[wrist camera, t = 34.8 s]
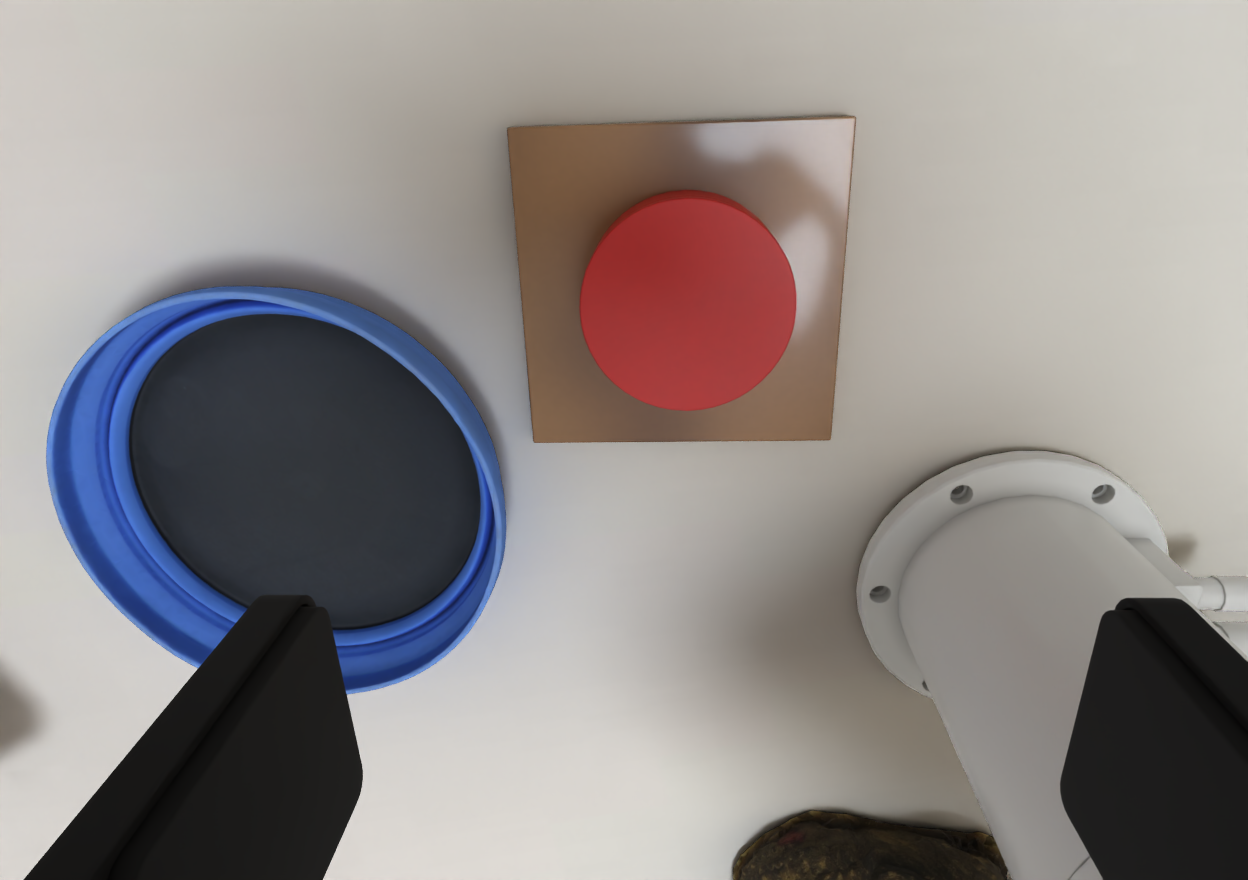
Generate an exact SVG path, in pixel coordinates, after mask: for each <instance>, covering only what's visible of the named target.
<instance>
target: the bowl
mask: <svg viewBox="0 0 1248 880" xmlns="http://www.w3.org/2000/svg"><path fill="white" fill-rule="evenodd" d="M46 464H47V475H48V482H49V487H50V491H51V495H52V499H53V503H54V506H55V509H56V512H57V515H58V518H59V521H60V524H61V526H62V528H63V531H64V533H65V535H66V537H67V539H68V541H69V543H70V545H71V547H72V549H73V551H74V552H75V554H76V556H77V558H78V559H79V561H80V563H81V564H82V566H83V567H84V569H85V570H86V572H87V573H88V574H89V576H90V577H91V579H92V580H93V581H94V582H95V584H96V585H97V586H98V587H99V589H100V590H101V591H102V592H103V593H104V595H105V596H106V597H107V598H108V599H109V600H110V601H111V602H112V603H113V604H114V606H115V607H116V608H117V609H118V610H119V611H120V612H121V613H122V614H123V615H124V616H126V617H127V618H128V619H129V620H130V621H131V622H132V623H133V624H134V625H136V626H137V627H138V628H139V629H140V630H141V631H142V632H144V633H145V634H146V635H147V636H149V637H150V638H151V639H152V640H154V641H155V642H156V643H158V644H159V645H161V646H162V647H163V648H165V649H166V650H168V651H169V652H170V653H172V654H173V655H175V656H177V657H178V658H180V659H182V660H184V661H185V662H187V663H189V664H191V665H193V666H195V667H197V668H199V667H200V666H201V665H202V663H203V662H204V661H205V660H206V659H207V657H208V656H209V655H210V654H211V652H212V651H213V650H214V649H215V648H216V646H217V645H218V644H219V643H220V642H221V640H222V639H223V638H224V637H225V636H226V634H227V633H228V632H229V631H230V629H231V628H232V627H233V626H234V625H235V623H236V622H237V621H238V620H239V619H240V617H241V616H242V615H243V614H244V613H245V611H246V610H247V609H248V608H249V606H250V605H251V604H252V603H253V602H254V601H255V600H256V599H257V598H258V597H259V596H262V595H308V596H310V597H312V599H313V600H314V601H315V604H316V607H324V608H326V610H327V611H328V614H329V617H330V621H331V625H332V630H333V635H334V639H335V644H336V648H337V653H338V658H339V662H340V667H341V671H342V676H343V681H344V685H345V690H346V694H353V693H359V692H366V691H371V690H375V689H379V688H383V687H386V686H389V685H392V684H396V683H399V682H401V681H404V680H406V679H409V678H411V677H413V676H415V675H417V674H419V673H421V672H423V671H424V670H426V669H428V668H429V667H431V666H432V665H434V664H435V663H437V662H438V661H439V660H441V659H442V658H443V657H445V656H446V655H447V654H448V653H449V652H450V651H451V650H453V649H454V648H455V647H456V646H457V645H458V644H459V642H460V641H461V640H462V639H463V638H464V637H465V636H466V635H467V634H468V632H469V631H470V630H471V628H472V627H473V625H474V624H475V622H476V621H477V619H478V618H479V616H480V614H481V613H482V611H483V609H484V607H485V605H486V603H487V601H488V599H489V597H490V595H491V592H492V590H493V588H494V586H495V583H496V581H497V578H498V575H499V572H500V569H501V565H502V561H503V556H504V549H505V540H506V512H505V501H504V493H503V487H502V481H501V476H500V470H499V465H498V461H497V457H496V453H495V450H494V446H493V444H492V441H491V438H490V436H489V434H488V431H487V429H486V427H485V425H484V423H483V421H482V419H481V417H480V415H479V413H478V411H477V410H476V408H475V406H474V404H473V403H472V401H471V400H470V398H469V397H468V395H467V394H466V393H465V391H464V390H463V388H462V387H461V386H460V384H459V383H458V381H457V380H456V379H455V378H454V377H453V375H452V374H451V373H450V372H449V371H448V370H447V369H446V367H445V366H444V365H443V364H442V363H441V362H440V361H439V360H438V359H437V358H436V357H434V356H433V355H432V354H431V353H430V352H429V351H428V350H427V349H426V348H425V347H424V346H422V345H421V344H420V343H419V342H417V341H416V340H415V339H414V338H412V337H411V336H410V335H408V334H407V333H406V332H404V331H403V330H401V329H399V328H398V327H396V326H395V325H393V324H392V323H390V322H388V321H387V320H385V319H383V318H381V317H379V316H378V315H376V314H374V313H372V312H370V311H367V310H365V309H363V308H361V307H358V306H356V305H354V304H351V303H349V302H346V301H343V300H340V299H337V298H334V297H330V296H327V295H323V294H319V293H315V292H311V291H305V290H298V289H290V288H277V287H257V286H228V287H213V288H205V289H199V290H194V291H189V292H185V293H181V294H177V295H173V296H171V297H168V298H165V299H162V300H159V301H157V302H155V303H152V304H150V305H148V306H146V307H144V308H142V309H140V310H139V311H137V312H135V313H134V314H132V315H130V316H129V317H127V318H125V319H124V320H122V321H121V322H119V323H118V324H116V325H115V326H113V327H112V328H111V329H110V330H108V331H107V332H106V333H105V334H104V335H102V336H101V337H100V338H99V339H98V340H97V341H96V342H95V343H94V344H93V345H92V346H91V347H90V348H89V349H88V350H87V351H86V353H85V354H84V355H83V356H82V357H81V358H80V360H79V361H78V362H77V364H76V365H75V367H74V368H73V370H72V371H71V373H70V375H69V376H68V378H67V380H66V382H65V383H64V385H63V388H62V390H61V392H60V394H59V397H58V399H57V402H56V404H55V407H54V409H53V413H52V417H51V421H50V425H49V431H48V436H47V451H46Z"/></svg>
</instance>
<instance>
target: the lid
mask: <svg viewBox="0 0 1248 880" xmlns="http://www.w3.org/2000/svg"><path fill="white" fill-rule="evenodd" d="M579 309H580V320H581V327H582V331H583V334H584V338H585V341H586V343H587V346H588V348H589V351H590V353H591V355H592V356H593V358H594V360H595V362H596V363H597V365H598V366H599V367H600V369H601V370H602V371H603V373H604V374H605V375H606V376H607V377H608V378H609V379H610V380H611V381H612V382H613V383H614V384H615V385H616V386H618V387H619V388H620V389H621V390H623V391H624V392H626V393H627V394H629V395H631V396H632V397H634V398H635V399H638V400H640V401H642V402H644V403H647V404H649V405H653V406H656V407H659V408H664V409H670V410H680V411H693V410H703V409H708V408H713V407H717V406H720V405H723V404H726V403H728V402H730V401H733V400H735V399H737V398H739V397H741V396H742V395H744V394H745V393H747V392H749V391H750V390H752V389H753V388H754V387H755V386H757V385H758V384H759V383H760V382H761V381H762V380H763V379H764V378H765V377H766V376H767V375H768V374H769V373H770V372H771V371H772V370H773V368H774V367H775V366H776V364H777V363H778V362H779V360H780V358H781V357H782V355H783V353H784V351H785V350H786V348H787V345H788V343H789V340H790V338H791V335H792V331H793V328H794V324H795V318H796V309H797V294H796V287H795V280H794V277H793V273H792V270H791V266H790V264H789V262H788V260H787V257H786V255H785V253H784V251H783V250H782V248H781V247H780V245H779V243H778V242H777V240H776V239H775V238H774V236H773V235H772V234H771V232H770V231H769V230H768V229H767V227H766V226H765V225H764V224H763V223H762V222H761V220H760V219H759V218H758V217H756V216H755V215H754V214H753V213H752V212H751V211H750V210H748V209H747V208H745V207H744V206H742V205H741V204H739V203H738V202H736V201H733V200H731V199H729V198H727V197H725V196H722V195H719V194H716V193H712V192H706V191H701V190H678V191H670V192H666V193H662V194H658V195H655V196H653V197H650V198H647V199H645V200H643V201H641V202H639V203H638V204H636V205H634V206H632V207H631V208H630V209H628V210H627V211H626V212H624V213H623V214H622V215H621V216H620V217H619V218H618V219H617V220H616V221H614V222H613V223H612V225H611V226H610V227H609V228H608V230H607V231H606V232H605V233H604V235H603V237H602V238H601V240H600V242H599V243H598V245H597V247H596V249H595V251H594V253H593V255H592V257H591V259H590V262H589V264H588V266H587V268H586V271H585V274H584V278H583V281H582V286H581V293H580V306H579Z"/></svg>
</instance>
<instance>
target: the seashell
mask: <svg viewBox="0 0 1248 880" xmlns="http://www.w3.org/2000/svg"><path fill="white" fill-rule="evenodd" d="M1007 872H1008V869H1007V866H1005V862H1004V860H1003V857H1002V855H1001V853H1000V851H999V848H998V846H997V844H996V841H995V839H994V837H993V836H990V835H987V834H984V833H982V832H973V833H963V832H955V831H947V830H937V829H927V828H917V827H909V826H901V825H895V824H888V823H881V822H876V821H874V820H871V819H868V818H861V817H856V816H852V815H847V814H837V813H827V812H820V811H809V812H806V813H804V814H801V815H799V816H796V817H794V818H792V819H790V820H789V821H787V822H786V823H784V824H782V825H780V826H778V827H777V828H775V829H773V830H770V831H768V832H767V833H765V834H764V835H763V836H761V837H760V838H759V839H758V840H757V841H756V842H755V843H754V844H752V845H751V846H750V847H749V848H748V849H747V850H746V851H745V852H744V853H743V854H742V855H741V856H740V858H739V859H738V861H737V863H736V865H735V866H734V868H733V879H734V880H1007V877H1006V875H1007Z"/></svg>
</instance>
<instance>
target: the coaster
mask: <svg viewBox="0 0 1248 880" xmlns="http://www.w3.org/2000/svg"><path fill="white" fill-rule="evenodd" d="M855 126H856V117H855V116H826V117H796V118H765V119H735V120H705V121H674V122H644V123H614V124H583V125H553V126H523V127H509V128H507V136H508V147H509V159H510V171H511V183H512V195H513V207H514V218H515V230H516V242H517V254H518V266H519V278H520V289H521V301H522V313H523V325H524V337H525V349H526V360H527V372H528V384H529V396H530V408H531V420H532V431H533V441H534V443H565V442H683V441H802V440H830V439H831V432H832V419H833V406H834V393H835V381H836V368H837V355H838V342H839V330H840V317H841V304H842V292H843V279H844V266H845V253H846V241H847V228H848V215H849V203H850V190H851V177H852V164H853V152H854V139H855ZM678 190H701V191H706V192H712V193H716V194H719V195H722V196H725V197H727V198H729V199H731V200H733V201H736V202H738V203H739V204H741V205H742V206H744V207H745V208H747V209H748V210H750V211H751V212H752V213H753V214H754V215H755V216H756V217H758V218H759V219H760V220H761V222H762V223H763V224H764V225H765V226H766V227H767V229H768V230H769V231H770V232H771V234H772V235H773V236H774V238H775V239H776V240H777V242H778V243H779V245H780V247H781V248H782V250H783V251H784V253H785V255H786V257H787V260H788V262H789V264H790V266H791V270H792V273H793V277H794V280H795V287H796V294H797V309H796V318H795V324H794V328H793V331H792V335H791V338H790V340H789V343H788V345H787V348H786V350H785V351H784V353H783V355H782V357H781V358H780V360H779V362H778V363H777V364H776V366H775V367H774V368H773V370H772V371H771V372H770V373H769V374H768V375H767V376H766V377H765V378H764V379H763V380H762V381H761V382H760V383H759V384H758V385H757V386H755V387H754V388H753V389H752V390H750V391H749V392H747V393H745V394H744V395H742V396H741V397H739V398H737V399H735V400H733V401H730V402H728V403H726V404H723V405H720V406H717V407H713V408H708V409H703V410H693V411H680V410H670V409H664V408H659V407H656V406H653V405H649V404H647V403H644V402H642V401H640V400H638V399H635V398H634V397H632V396H631V395H629V394H627V393H626V392H624V391H623V390H621V389H620V388H619V387H618V386H616V385H615V384H614V383H613V382H612V381H611V380H610V379H609V378H608V377H607V376H606V375H605V374H604V373H603V371H602V370H601V369H600V367H599V366H598V365H597V363H596V362H595V360H594V358H593V356H592V355H591V353H590V351H589V348H588V346H587V343H586V341H585V338H584V334H583V331H582V327H581V320H580V309H579V306H580V293H581V286H582V281H583V278H584V274H585V271H586V268H587V266H588V264H589V262H590V259H591V257H592V255H593V253H594V251H595V249H596V247H597V245H598V243H599V242H600V240H601V238H602V237H603V235H604V233H605V232H606V231H607V230H608V228H609V227H610V226H611V225H612V223H613V222H614V221H616V220H617V219H618V218H619V217H620V216H621V215H622V214H623V213H624V212H626V211H627V210H628V209H630V208H631V207H632V206H634V205H636V204H638V203H639V202H641V201H643V200H645V199H647V198H650V197H653V196H655V195H658V194H662V193H666V192H670V191H678Z"/></svg>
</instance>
